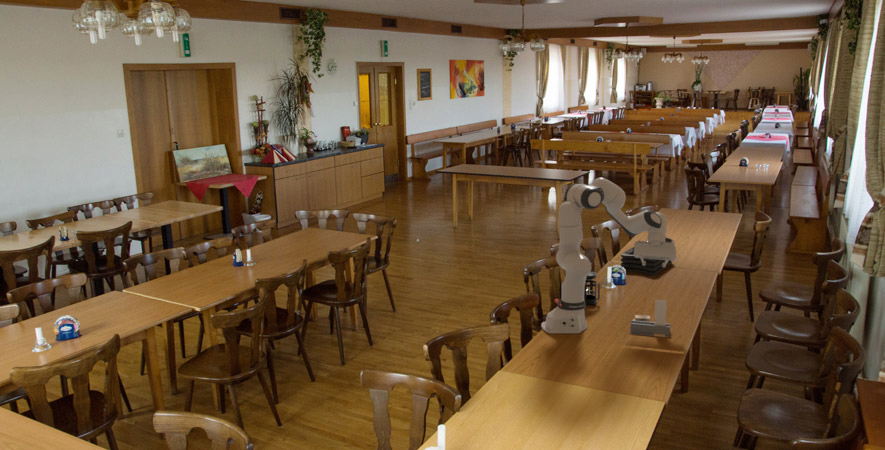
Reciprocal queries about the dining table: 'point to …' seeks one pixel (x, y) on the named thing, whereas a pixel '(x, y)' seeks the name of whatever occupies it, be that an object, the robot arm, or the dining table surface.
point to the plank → (660, 312)
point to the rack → (649, 329)
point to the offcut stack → (642, 318)
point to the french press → (591, 290)
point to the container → (636, 264)
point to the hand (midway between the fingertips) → (653, 265)
